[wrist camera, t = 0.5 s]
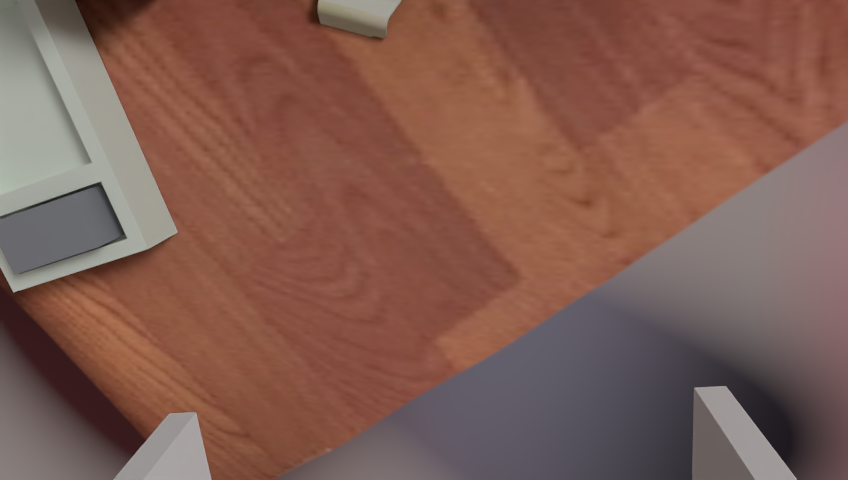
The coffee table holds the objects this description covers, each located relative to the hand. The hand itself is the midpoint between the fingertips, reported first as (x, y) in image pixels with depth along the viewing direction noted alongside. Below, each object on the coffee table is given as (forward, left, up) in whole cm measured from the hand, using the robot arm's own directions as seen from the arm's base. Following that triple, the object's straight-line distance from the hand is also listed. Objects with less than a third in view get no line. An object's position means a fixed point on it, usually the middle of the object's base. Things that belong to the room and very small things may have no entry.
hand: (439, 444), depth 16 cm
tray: (-16, -24, -25) cm, 38 cm away
